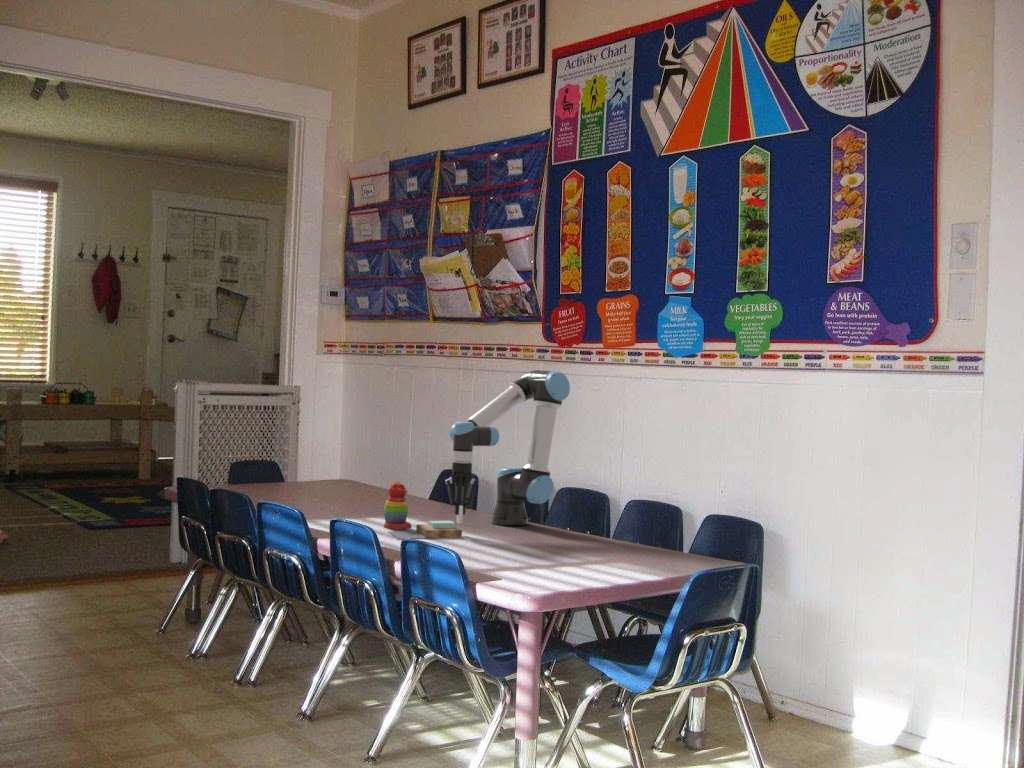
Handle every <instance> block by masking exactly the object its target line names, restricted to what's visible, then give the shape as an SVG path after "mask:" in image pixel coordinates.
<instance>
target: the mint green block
mask: <svg viewBox="0 0 1024 768" xmlns="http://www.w3.org/2000/svg"><path fill="white" fill-rule="evenodd" d="M427 523H428V526H429V527H431V528H432V529H437V528H455V526H456V522H454V521H452V520H428V521H427Z"/></svg>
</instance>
